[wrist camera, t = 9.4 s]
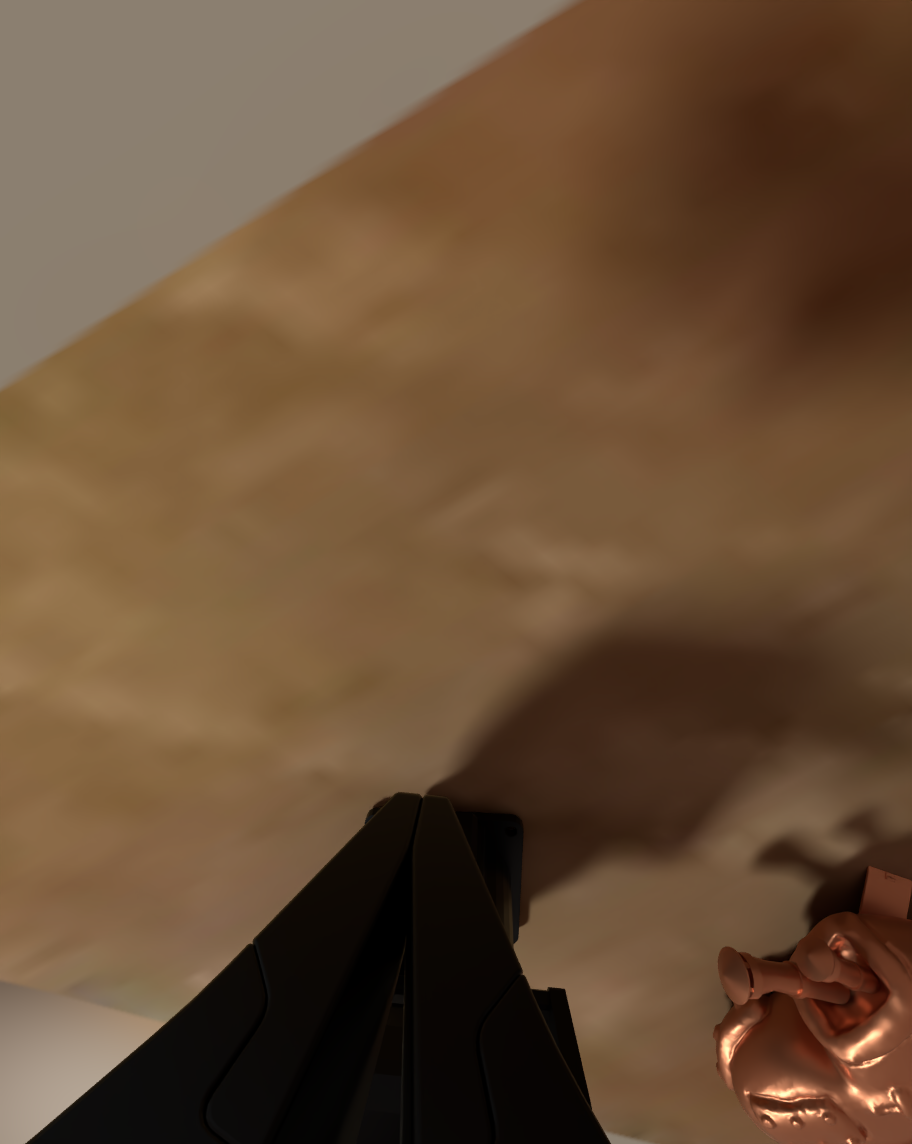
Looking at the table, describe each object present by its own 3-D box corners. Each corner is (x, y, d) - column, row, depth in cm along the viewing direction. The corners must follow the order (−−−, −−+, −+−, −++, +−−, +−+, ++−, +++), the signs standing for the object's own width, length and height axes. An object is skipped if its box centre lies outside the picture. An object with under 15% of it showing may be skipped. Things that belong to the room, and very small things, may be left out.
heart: (1264, 1117, 17) (817, 941, 17) (989, 1276, 21) (630, 1140, 21) (1080, 931, 22) (742, 798, 22) (891, 1087, 27) (607, 978, 26)
